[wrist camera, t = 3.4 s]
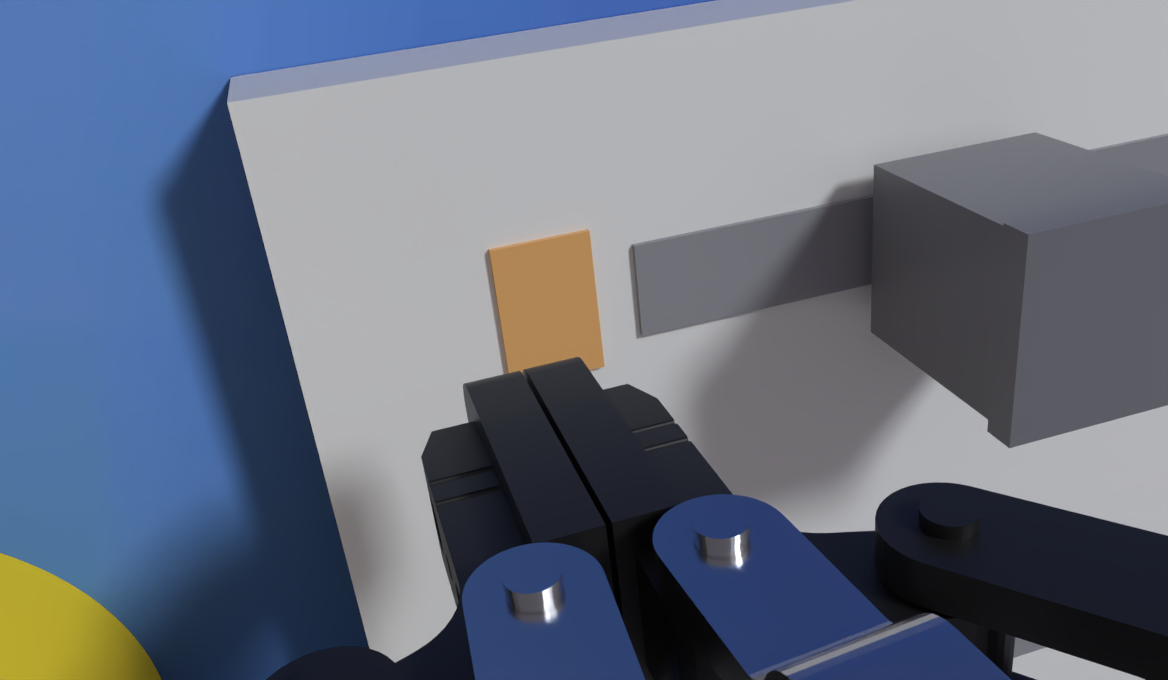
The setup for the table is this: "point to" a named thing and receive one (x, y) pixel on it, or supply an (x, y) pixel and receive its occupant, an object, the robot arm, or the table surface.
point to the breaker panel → (673, 250)
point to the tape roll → (61, 631)
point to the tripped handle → (1026, 281)
